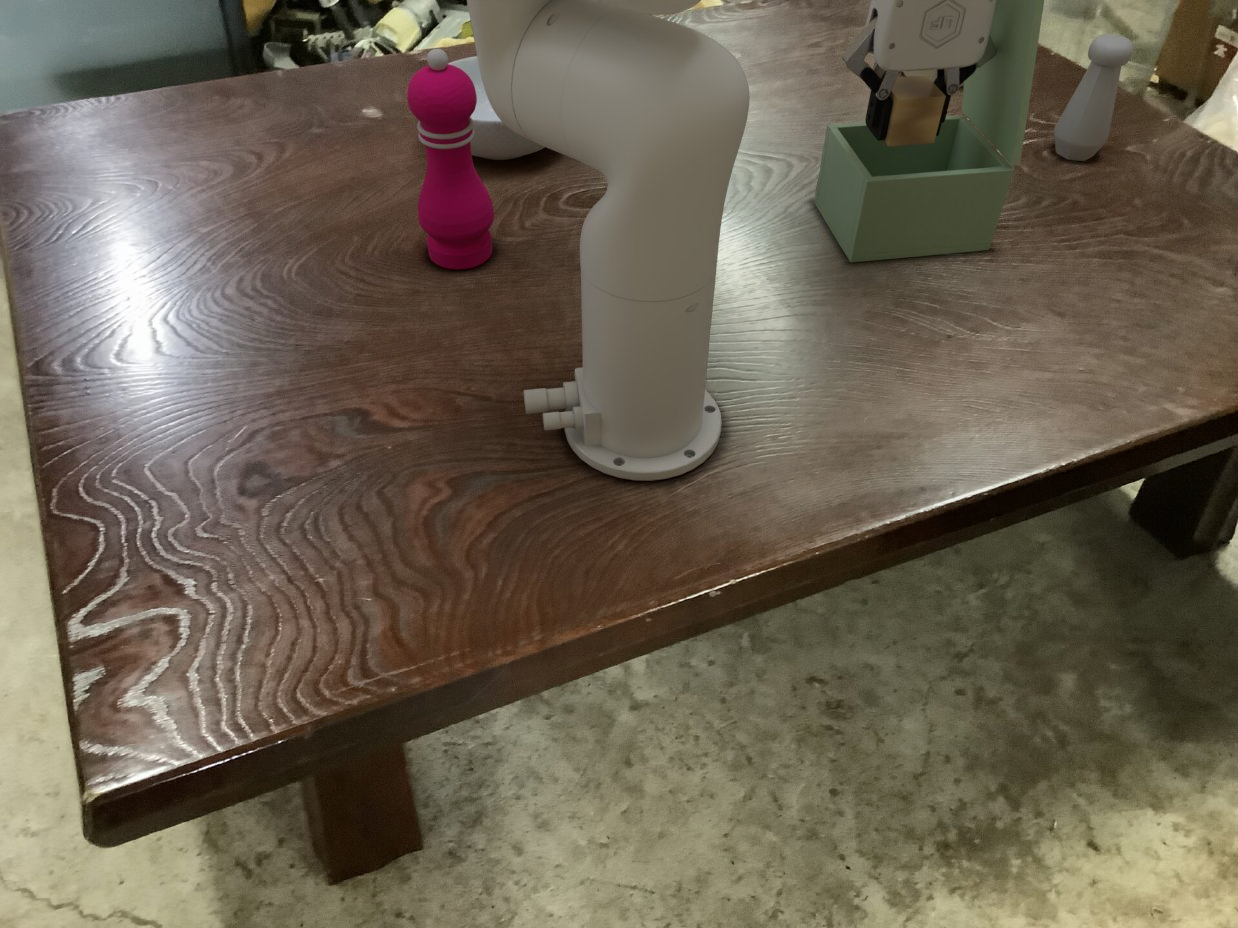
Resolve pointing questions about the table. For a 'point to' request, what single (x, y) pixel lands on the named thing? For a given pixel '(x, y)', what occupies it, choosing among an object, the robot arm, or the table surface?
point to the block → (914, 111)
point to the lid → (1006, 77)
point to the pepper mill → (450, 166)
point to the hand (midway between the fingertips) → (902, 130)
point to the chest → (911, 192)
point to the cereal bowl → (492, 123)
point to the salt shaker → (1093, 100)
